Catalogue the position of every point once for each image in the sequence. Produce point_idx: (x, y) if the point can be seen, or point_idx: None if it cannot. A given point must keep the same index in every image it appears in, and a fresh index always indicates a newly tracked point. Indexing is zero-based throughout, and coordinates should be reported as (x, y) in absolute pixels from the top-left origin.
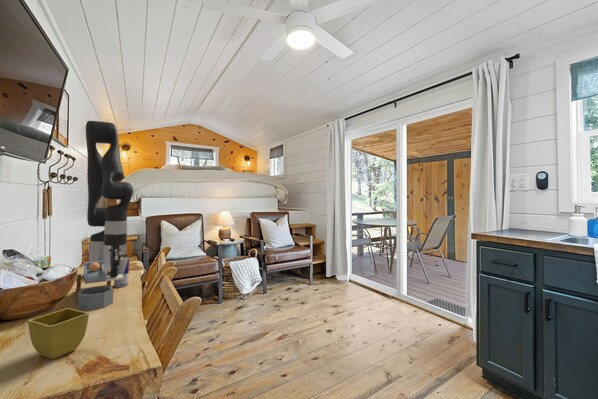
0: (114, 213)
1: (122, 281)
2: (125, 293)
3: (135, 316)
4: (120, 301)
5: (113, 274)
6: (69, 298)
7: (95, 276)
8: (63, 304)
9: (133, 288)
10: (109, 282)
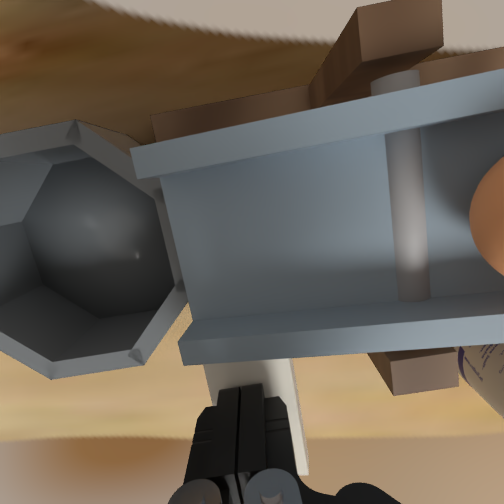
0: None
1: (478, 380)
2: None
3: None
4: None
5: (199, 434)
6: (324, 43)
7: (300, 240)
8: (187, 33)
9: (382, 417)
10: None
